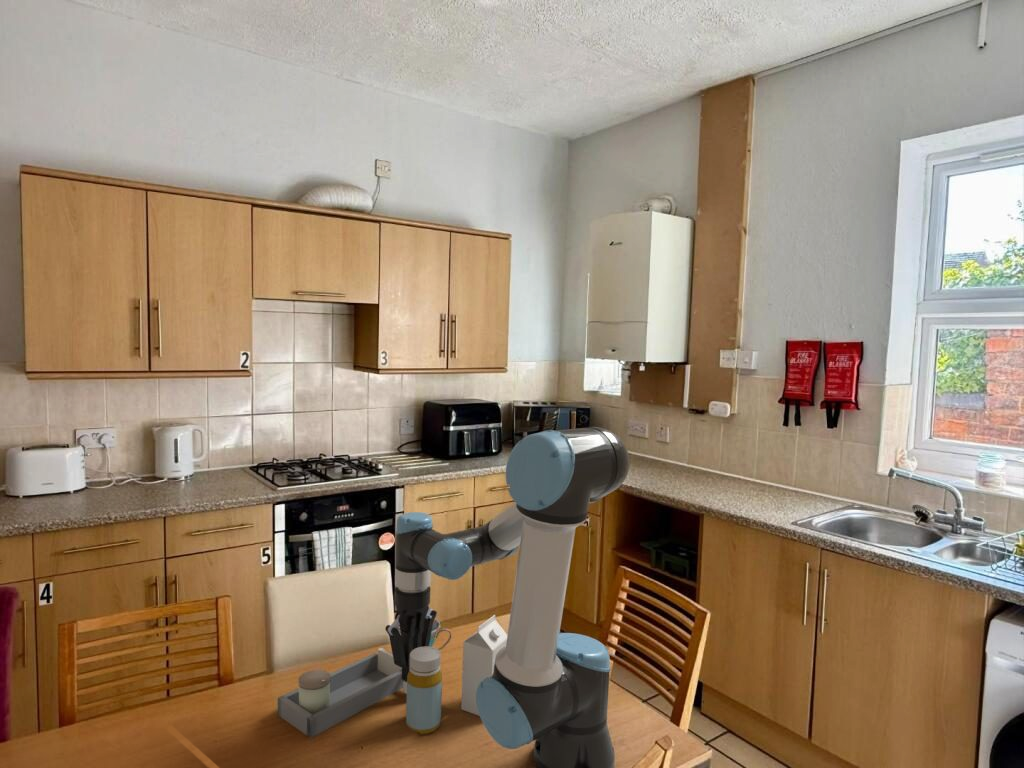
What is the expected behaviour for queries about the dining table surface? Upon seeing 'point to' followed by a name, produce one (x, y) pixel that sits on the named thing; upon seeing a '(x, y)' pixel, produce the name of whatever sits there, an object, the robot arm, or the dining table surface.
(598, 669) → the robot arm
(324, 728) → the grey tray
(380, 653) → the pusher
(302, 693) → the jar
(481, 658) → the milk carton
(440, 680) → the bottle
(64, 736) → the dining table surface
